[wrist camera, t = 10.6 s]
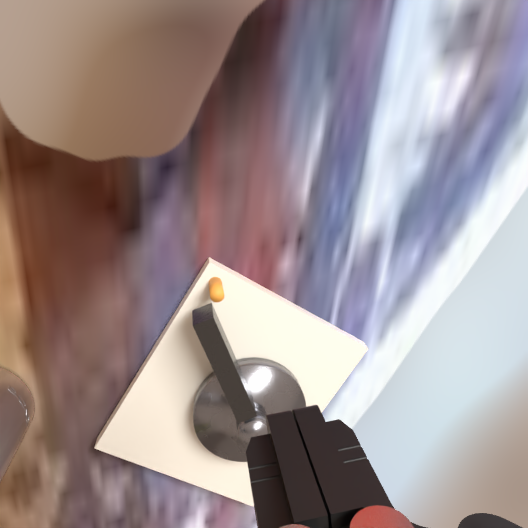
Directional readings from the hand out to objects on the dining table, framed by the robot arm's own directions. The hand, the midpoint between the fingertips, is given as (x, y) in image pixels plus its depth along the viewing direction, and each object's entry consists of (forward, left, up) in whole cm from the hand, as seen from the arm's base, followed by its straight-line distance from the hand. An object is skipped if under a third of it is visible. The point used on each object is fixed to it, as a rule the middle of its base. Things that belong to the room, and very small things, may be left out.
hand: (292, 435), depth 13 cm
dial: (-2, -16, -27) cm, 31 cm away
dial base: (-3, -18, -29) cm, 34 cm away
